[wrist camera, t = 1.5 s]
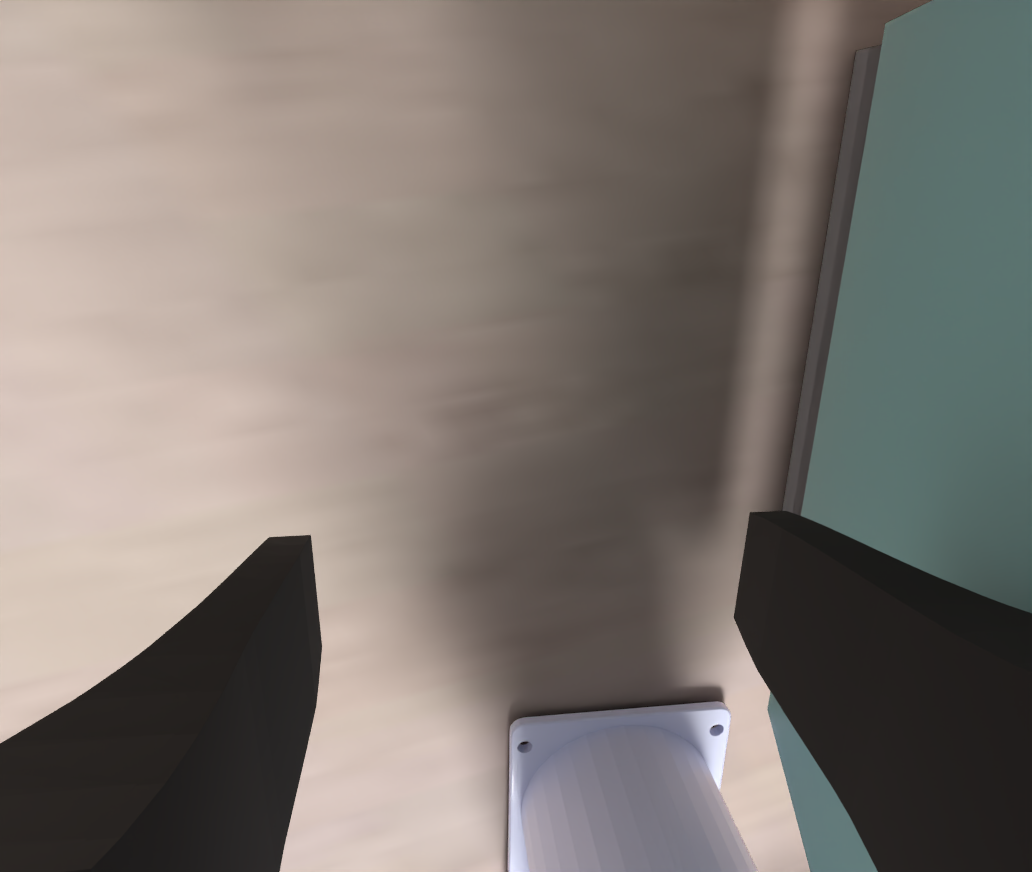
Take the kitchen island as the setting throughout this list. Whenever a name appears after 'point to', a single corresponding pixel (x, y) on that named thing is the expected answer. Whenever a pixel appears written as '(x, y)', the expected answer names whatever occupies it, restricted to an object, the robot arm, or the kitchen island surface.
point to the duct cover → (931, 340)
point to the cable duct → (831, 271)
